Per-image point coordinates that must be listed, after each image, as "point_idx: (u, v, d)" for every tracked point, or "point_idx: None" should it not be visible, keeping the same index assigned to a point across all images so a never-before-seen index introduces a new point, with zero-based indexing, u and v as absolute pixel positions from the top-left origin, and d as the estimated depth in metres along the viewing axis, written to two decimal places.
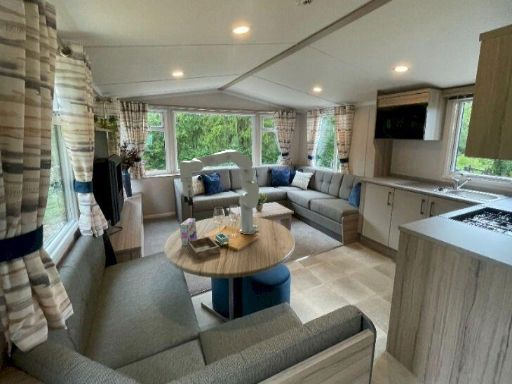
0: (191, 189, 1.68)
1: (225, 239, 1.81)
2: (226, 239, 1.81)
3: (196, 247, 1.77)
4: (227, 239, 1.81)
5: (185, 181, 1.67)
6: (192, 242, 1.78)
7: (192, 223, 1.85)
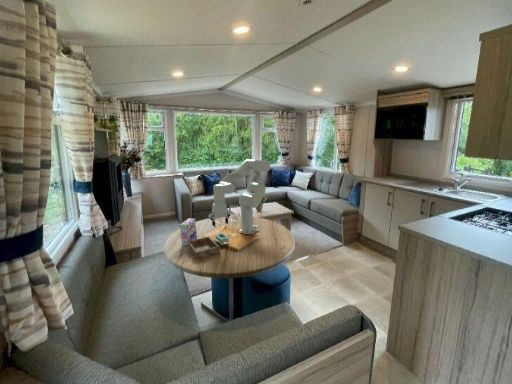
0: None
1: (225, 239, 1.81)
2: (226, 239, 1.81)
3: (196, 247, 1.77)
4: (227, 239, 1.81)
5: (224, 202, 1.79)
6: (192, 242, 1.78)
7: (192, 223, 1.85)
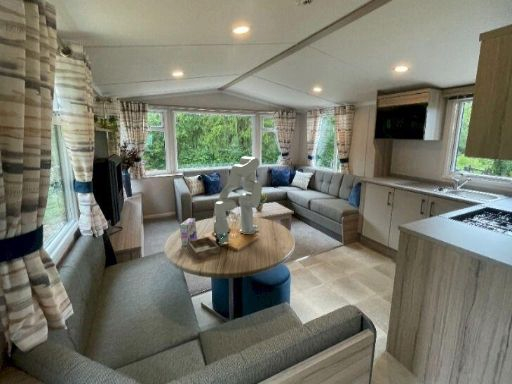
0: None
1: (225, 239, 1.81)
2: (226, 239, 1.81)
3: (196, 247, 1.77)
4: (227, 239, 1.81)
5: (226, 219, 1.82)
6: (192, 242, 1.78)
7: (192, 223, 1.85)
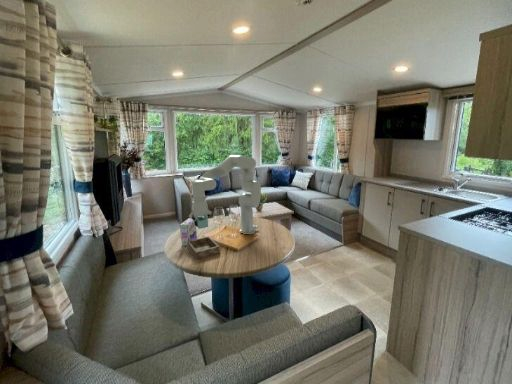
0: None
1: (204, 221, 1.64)
2: (205, 221, 1.65)
3: (196, 247, 1.77)
4: (206, 221, 1.65)
5: (205, 199, 1.65)
6: (192, 242, 1.78)
7: (192, 223, 1.85)
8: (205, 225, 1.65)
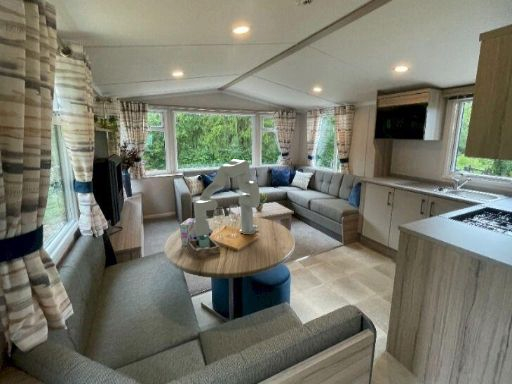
0: None
1: (205, 241, 1.68)
2: (207, 241, 1.68)
3: (196, 247, 1.77)
4: (207, 241, 1.68)
5: (206, 219, 1.69)
6: (192, 242, 1.78)
7: (192, 223, 1.85)
8: (206, 244, 1.68)
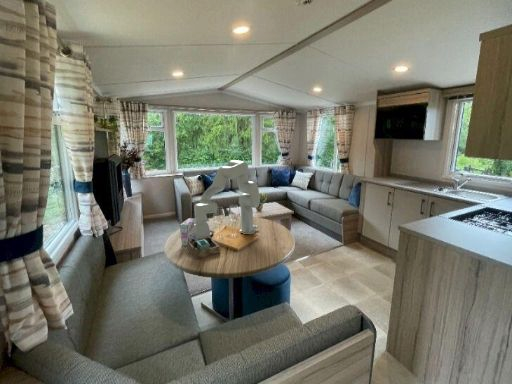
0: None
1: (206, 246, 1.69)
2: (207, 246, 1.69)
3: None
4: (208, 246, 1.69)
5: (206, 222, 1.69)
6: (192, 242, 1.78)
7: (192, 223, 1.85)
8: None
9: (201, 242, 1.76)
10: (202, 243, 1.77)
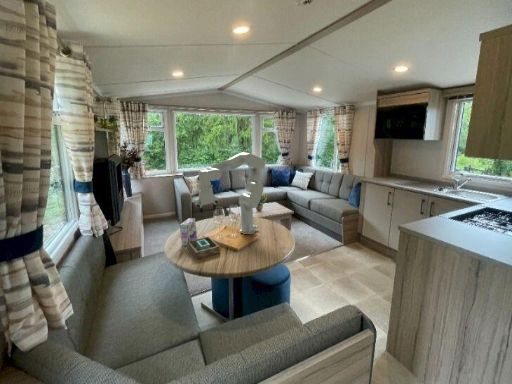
0: None
1: (206, 246, 1.69)
2: (207, 246, 1.69)
3: (196, 247, 1.77)
4: (208, 246, 1.69)
5: None
6: (192, 242, 1.78)
7: (192, 223, 1.85)
8: None
9: (201, 242, 1.76)
10: (202, 243, 1.77)
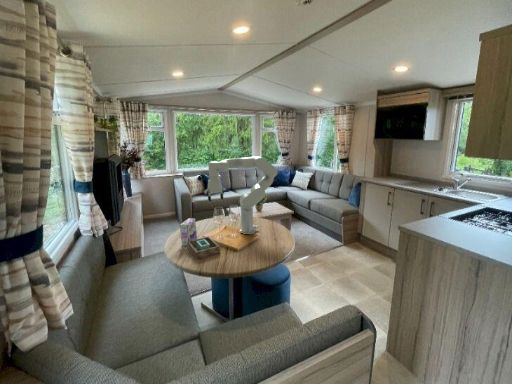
0: None
1: (206, 246, 1.69)
2: (207, 246, 1.69)
3: (196, 247, 1.77)
4: (208, 246, 1.69)
5: (219, 178, 1.89)
6: (192, 242, 1.78)
7: (192, 223, 1.85)
8: None
9: (201, 242, 1.76)
10: (202, 243, 1.77)
